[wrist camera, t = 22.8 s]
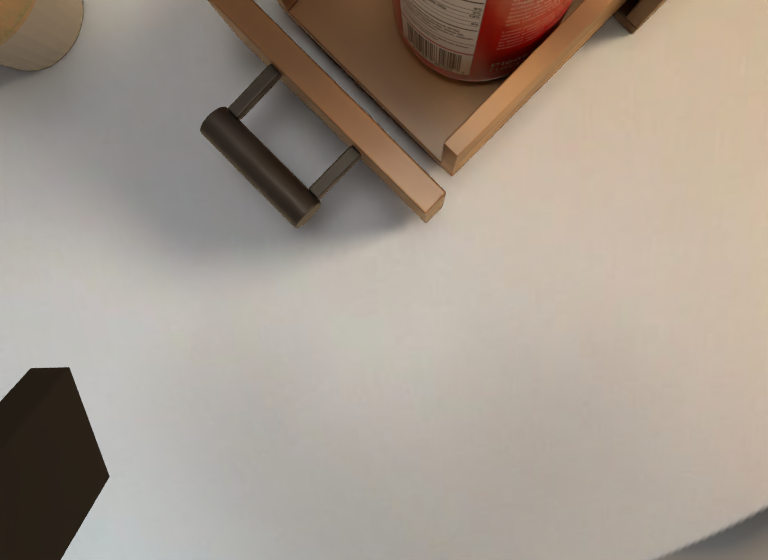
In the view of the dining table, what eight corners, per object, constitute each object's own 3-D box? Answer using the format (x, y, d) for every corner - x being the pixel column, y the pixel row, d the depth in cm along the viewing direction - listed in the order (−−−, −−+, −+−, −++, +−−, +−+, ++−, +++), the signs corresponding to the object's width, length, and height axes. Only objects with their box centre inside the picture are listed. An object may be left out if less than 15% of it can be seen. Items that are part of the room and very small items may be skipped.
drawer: (365, 284, 33) (348, 291, 26) (178, 97, 34) (115, 56, 27) (653, -6, 32) (715, -78, 25) (456, -198, 32) (464, -320, 25)
